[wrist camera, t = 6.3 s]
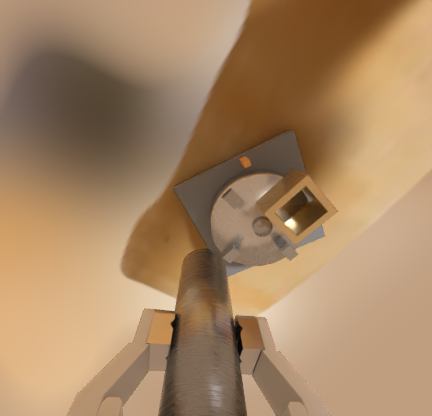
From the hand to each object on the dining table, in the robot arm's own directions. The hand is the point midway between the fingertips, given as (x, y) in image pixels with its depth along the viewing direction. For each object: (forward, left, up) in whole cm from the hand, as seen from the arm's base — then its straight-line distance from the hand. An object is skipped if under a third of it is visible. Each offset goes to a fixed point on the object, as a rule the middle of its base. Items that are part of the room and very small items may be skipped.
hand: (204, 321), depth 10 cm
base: (-5, +6, -20) cm, 22 cm away
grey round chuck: (-6, +6, -19) cm, 20 cm away
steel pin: (0, 0, -4) cm, 4 cm away
